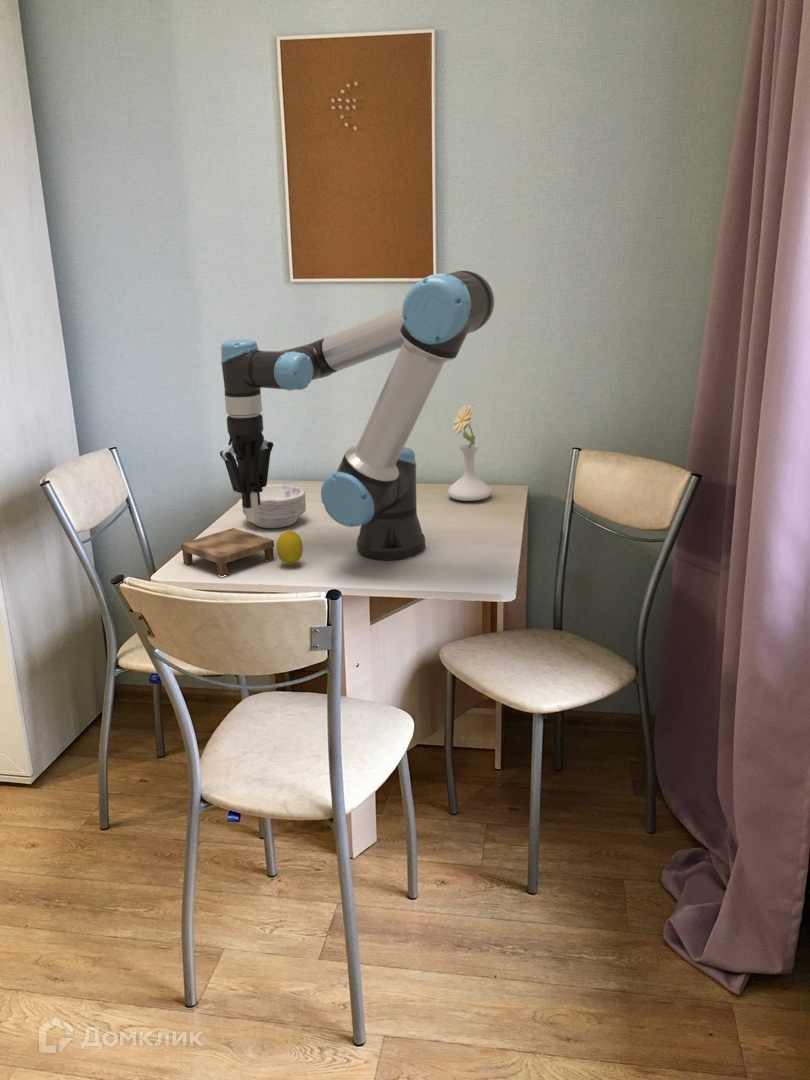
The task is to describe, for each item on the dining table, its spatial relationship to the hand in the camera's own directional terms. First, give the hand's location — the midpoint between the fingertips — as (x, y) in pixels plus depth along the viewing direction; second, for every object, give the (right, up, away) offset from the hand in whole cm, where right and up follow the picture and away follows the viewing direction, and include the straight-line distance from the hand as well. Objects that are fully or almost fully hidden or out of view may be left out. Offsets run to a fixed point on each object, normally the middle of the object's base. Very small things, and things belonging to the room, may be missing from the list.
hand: (252, 520), depth 215 cm
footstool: (0, -5, +1) cm, 5 cm away
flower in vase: (+50, +6, +38) cm, 63 cm away
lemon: (+9, -10, -6) cm, 15 cm away
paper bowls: (+2, 0, +23) cm, 23 cm away
